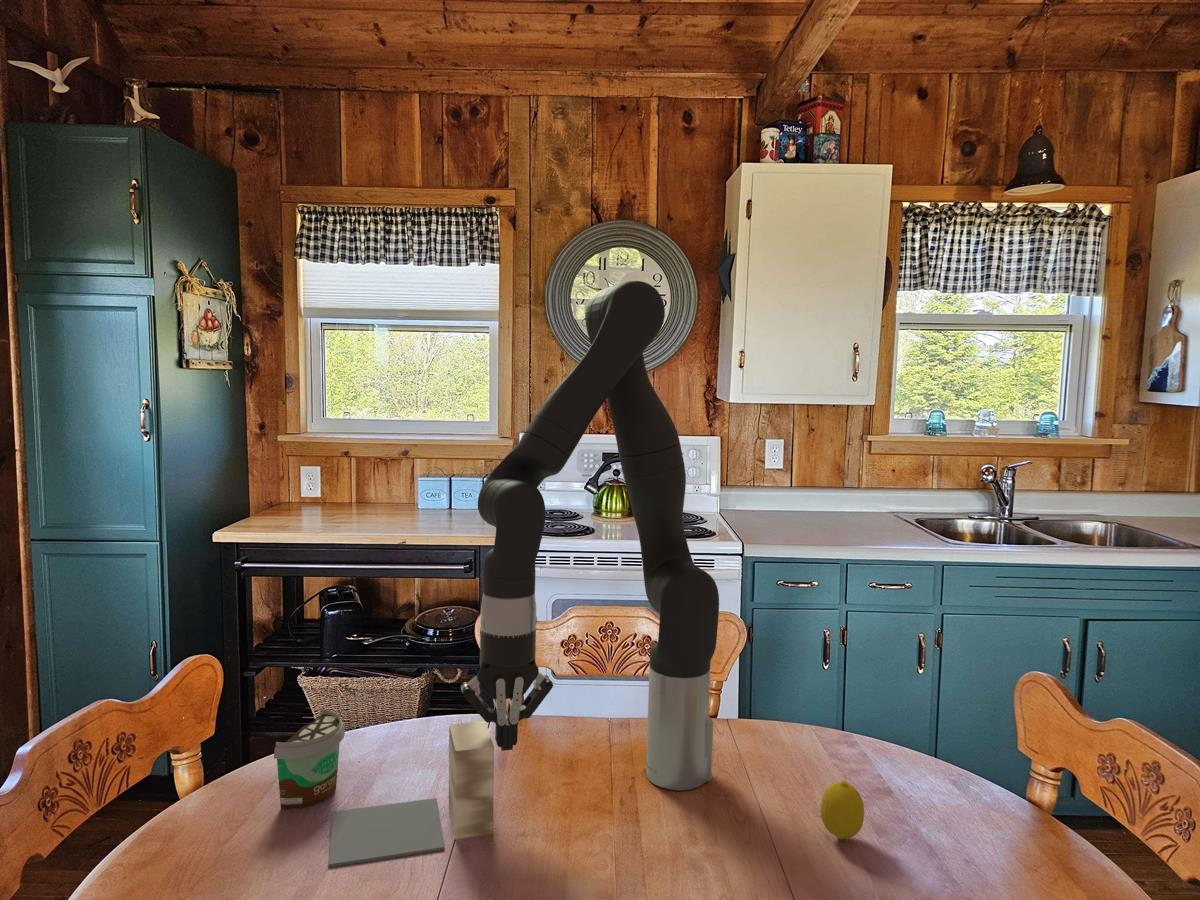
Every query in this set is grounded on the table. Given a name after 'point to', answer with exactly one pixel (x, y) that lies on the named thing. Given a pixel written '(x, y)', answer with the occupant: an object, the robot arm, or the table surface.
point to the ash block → (471, 779)
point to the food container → (310, 762)
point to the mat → (385, 832)
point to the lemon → (842, 810)
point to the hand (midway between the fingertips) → (505, 747)
